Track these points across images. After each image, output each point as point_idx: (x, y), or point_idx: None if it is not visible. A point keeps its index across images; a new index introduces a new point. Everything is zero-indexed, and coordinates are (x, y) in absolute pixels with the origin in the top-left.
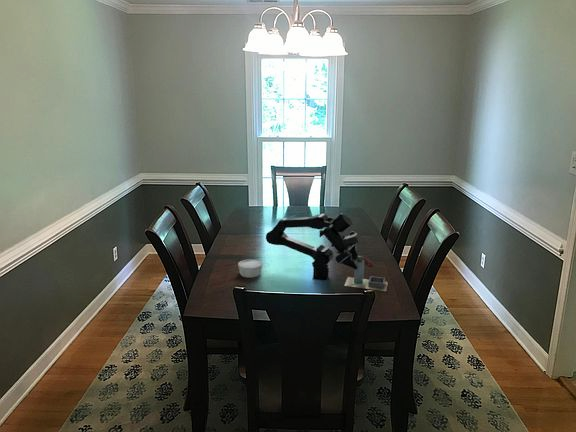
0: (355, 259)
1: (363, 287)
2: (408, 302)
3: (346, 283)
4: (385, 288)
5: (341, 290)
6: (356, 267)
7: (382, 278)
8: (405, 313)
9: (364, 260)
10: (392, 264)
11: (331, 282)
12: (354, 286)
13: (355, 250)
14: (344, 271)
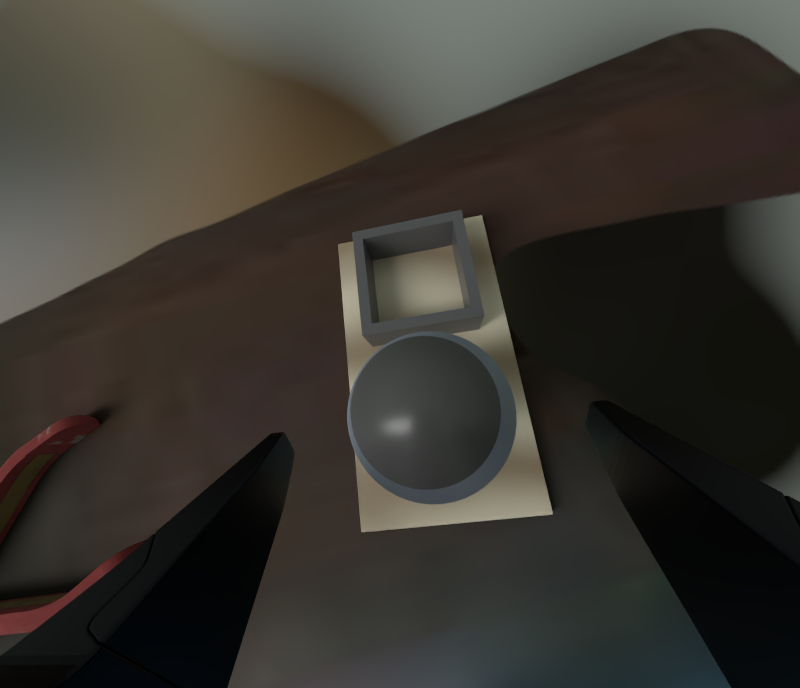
0: (276, 527)
1: (503, 357)
2: (553, 90)
3: (501, 507)
4: None
5: None
6: (622, 414)
7: (364, 248)
8: (707, 61)
9: (21, 484)
10: (59, 299)
11: (530, 662)
12: (523, 425)
13: (73, 656)
14: None
